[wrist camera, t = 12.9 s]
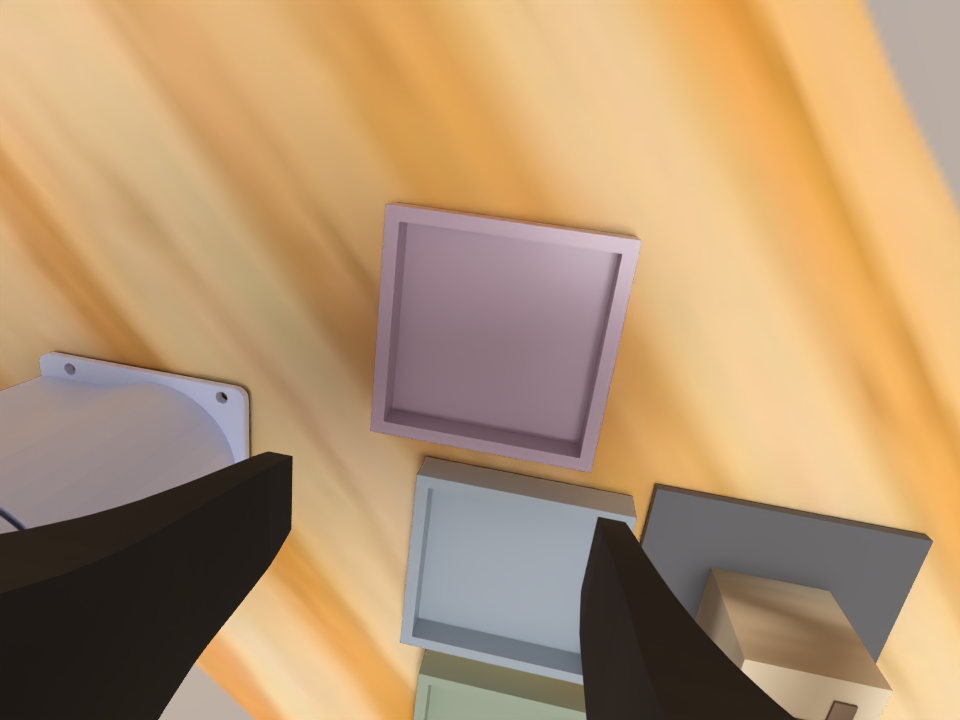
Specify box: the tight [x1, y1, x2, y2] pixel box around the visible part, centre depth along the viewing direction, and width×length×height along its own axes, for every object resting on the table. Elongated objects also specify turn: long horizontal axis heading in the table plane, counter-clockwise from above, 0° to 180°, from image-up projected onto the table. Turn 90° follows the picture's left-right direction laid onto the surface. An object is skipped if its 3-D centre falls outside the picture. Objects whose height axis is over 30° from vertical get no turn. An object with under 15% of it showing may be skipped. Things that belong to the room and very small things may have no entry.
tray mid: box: [400, 457, 637, 685], centre depth 23 cm, size 8×8×2 cm
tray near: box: [370, 203, 641, 473], centre depth 20 cm, size 8×8×2 cm
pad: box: [640, 484, 933, 664], centre depth 23 cm, size 10×10×1 cm
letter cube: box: [695, 568, 893, 720], centre depth 20 cm, size 4×4×5 cm
